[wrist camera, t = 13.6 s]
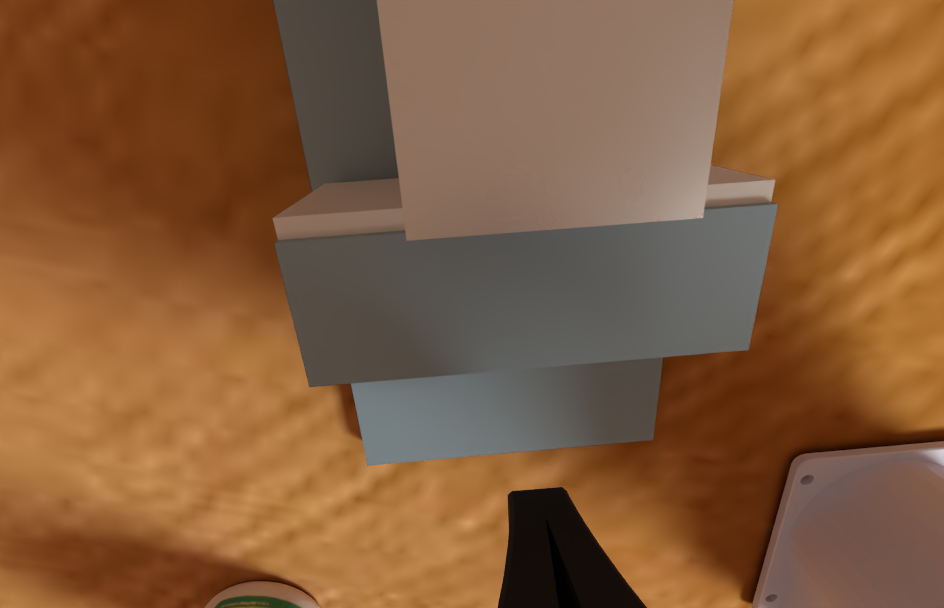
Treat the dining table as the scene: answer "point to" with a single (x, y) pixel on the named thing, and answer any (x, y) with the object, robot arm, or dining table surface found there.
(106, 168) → the dining table surface
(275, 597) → the supplement bottle
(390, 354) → the block
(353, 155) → the base
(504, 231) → the steel block
